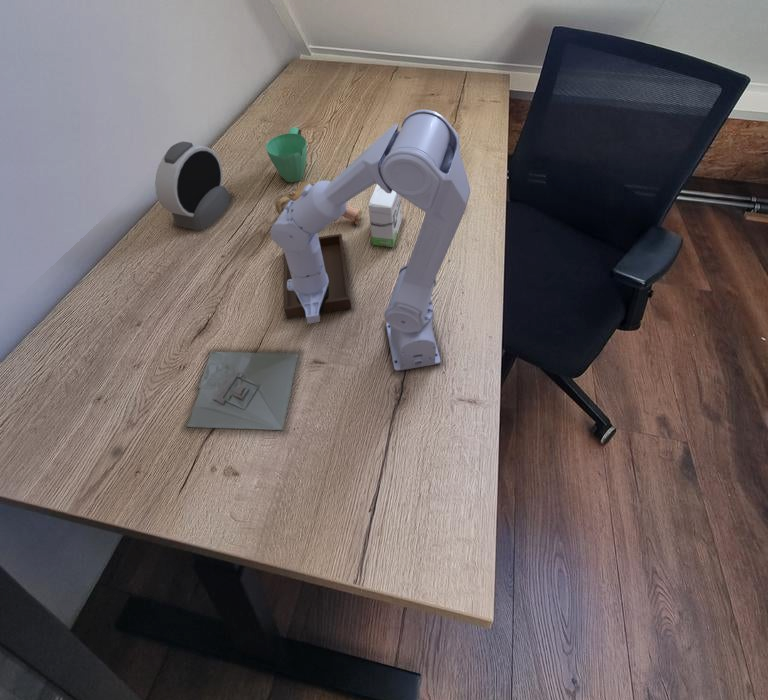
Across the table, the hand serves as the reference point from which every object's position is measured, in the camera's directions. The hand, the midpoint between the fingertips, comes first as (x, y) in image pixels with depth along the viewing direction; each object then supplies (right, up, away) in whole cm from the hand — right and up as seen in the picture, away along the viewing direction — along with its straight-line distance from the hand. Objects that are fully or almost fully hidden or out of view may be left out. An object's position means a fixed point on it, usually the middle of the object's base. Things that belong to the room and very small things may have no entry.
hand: (318, 311), depth 84 cm
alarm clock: (-31, +18, +25) cm, 44 cm away
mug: (-11, +29, +35) cm, 46 cm away
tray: (-1, +5, +8) cm, 9 cm away
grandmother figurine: (+7, +17, +18) cm, 26 cm away
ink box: (+13, +14, +17) cm, 25 cm away
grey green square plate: (-16, -12, -10) cm, 22 cm away
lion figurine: (-6, +17, +22) cm, 28 cm away
